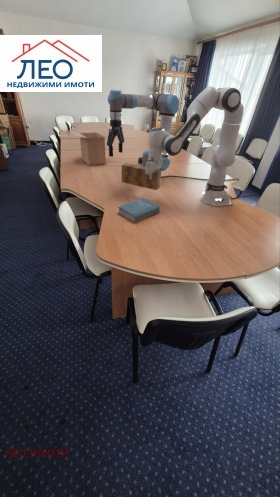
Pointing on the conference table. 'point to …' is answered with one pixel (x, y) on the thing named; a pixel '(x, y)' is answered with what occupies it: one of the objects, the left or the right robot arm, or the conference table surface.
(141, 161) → the laser sight
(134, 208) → the book
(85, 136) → the box
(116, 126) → the left robot arm
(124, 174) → the long box
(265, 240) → the conference table surface
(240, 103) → the right robot arm
